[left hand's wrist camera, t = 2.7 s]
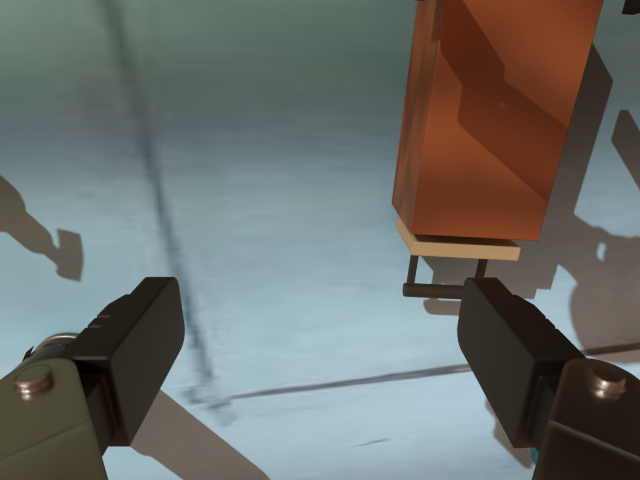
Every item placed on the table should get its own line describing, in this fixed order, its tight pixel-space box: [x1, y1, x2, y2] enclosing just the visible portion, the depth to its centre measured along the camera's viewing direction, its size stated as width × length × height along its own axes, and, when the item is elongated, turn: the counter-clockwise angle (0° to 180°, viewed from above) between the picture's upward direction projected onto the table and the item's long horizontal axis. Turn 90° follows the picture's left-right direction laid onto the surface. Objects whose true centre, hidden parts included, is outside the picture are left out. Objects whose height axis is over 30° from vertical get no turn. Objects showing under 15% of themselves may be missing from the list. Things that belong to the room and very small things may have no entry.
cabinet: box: [392, 0, 604, 241], centre depth 31 cm, size 21×10×9 cm, turn 177°
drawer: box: [397, 217, 521, 299], centre depth 33 cm, size 25×9×7 cm, turn 177°
